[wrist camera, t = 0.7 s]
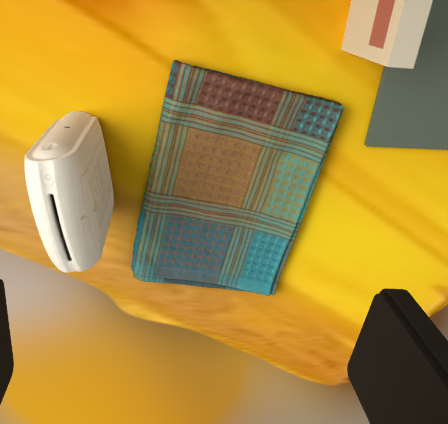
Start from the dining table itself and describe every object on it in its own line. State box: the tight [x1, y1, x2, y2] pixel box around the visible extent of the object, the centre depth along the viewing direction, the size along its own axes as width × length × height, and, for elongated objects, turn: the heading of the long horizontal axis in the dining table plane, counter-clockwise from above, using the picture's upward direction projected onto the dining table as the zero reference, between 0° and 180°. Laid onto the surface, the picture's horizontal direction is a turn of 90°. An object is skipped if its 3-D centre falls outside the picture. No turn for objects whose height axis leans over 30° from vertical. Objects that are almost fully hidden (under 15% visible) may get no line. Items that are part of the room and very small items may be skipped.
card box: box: [341, 0, 433, 69], centre depth 32 cm, size 6×2×9 cm, turn 175°
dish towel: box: [132, 60, 344, 296], centre depth 43 cm, size 17×23×2 cm
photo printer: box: [25, 111, 114, 273], centre depth 34 cm, size 10×4×12 cm, turn 3°
